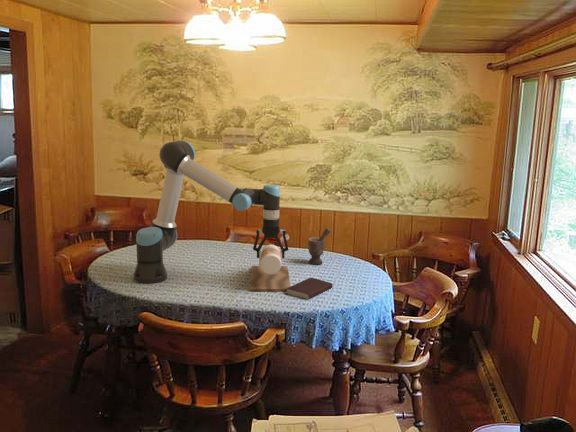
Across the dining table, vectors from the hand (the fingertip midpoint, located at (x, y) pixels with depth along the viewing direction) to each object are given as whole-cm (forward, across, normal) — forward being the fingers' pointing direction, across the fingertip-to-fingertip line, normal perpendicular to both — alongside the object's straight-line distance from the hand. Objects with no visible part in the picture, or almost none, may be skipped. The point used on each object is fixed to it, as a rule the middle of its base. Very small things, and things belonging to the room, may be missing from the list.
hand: (270, 264), depth 252 cm
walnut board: (+7, 0, 0) cm, 7 cm away
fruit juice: (-4, 0, -15) cm, 16 cm away
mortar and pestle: (+7, +26, +27) cm, 38 cm away
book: (+8, +17, -16) cm, 25 cm away
